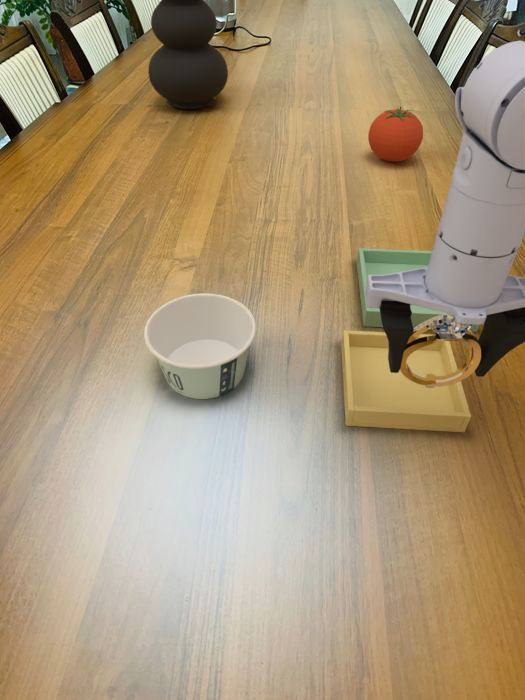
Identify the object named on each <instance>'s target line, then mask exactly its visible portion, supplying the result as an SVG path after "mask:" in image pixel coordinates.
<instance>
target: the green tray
mask: <svg viewBox="0 0 525 700" xmlns="http://www.w3.org/2000/svg"><path fill="white" fill-rule="evenodd" d="M431 254H432V250H416V249H414V250H412V249H391V248H390V249H389V248H388V249H387V248H368V247H367V248H366V247H364V248H363V247H361V248H360V247H359V248H358V251H357V259H356V271H357V279H358V288H359V289H358V290H359V297H360V299H359V300H360V308H361V315H362V325H363V327H367V328H383V325H382V321H381V314H380V308H367V305H366V297H365V290H366V285H367V279H368V275H384V274H392V273H397V272H403V271H408V270H414V269H419V268H425V267H428V265H429V262H430V258H431ZM410 308H411V311H412V315H411V320H412V325H413V329H414V328H415V327H416V326H418V325H419V324H421V323H423V322H425V321H427V320H429V319H431V318H433V317H436V316H439V315H444V313H443V312H439V311H435V310H431V309H427V308H423V307H419V306H415V305H410ZM448 315H450V316H453V317H454V315H451V314H448ZM440 325H441V324H440ZM462 325H464V326H467V324H462ZM480 327H481V324H480V325H476V324H472V326H471V327H470V330H471V331H472V332H473V333H477V332H479V329H480ZM429 330H430V331H433V330H432V328H431V329H429ZM429 330H428V331H429Z"/></svg>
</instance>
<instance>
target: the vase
mask: <svg viewBox="0 0 525 700" xmlns="http://www.w3.org/2000/svg"><path fill="white" fill-rule="evenodd" d="M150 18H151V19H150V26H151V30H152V32H153V34H154V36H155V37H156V39H157V40H158V41H159V42H160V44H162V45H161V47H159V48H158V49H157V50H155V52H154V53H153V54H152V56H151V58H150V60H149V63H148V78H149V81H150V84H151V86H152V87H153V89H154V91H155V92H156V93H157V95H160V96H161V97H162V98H164V99H165V100H167V101H166V102H167V104H168V105H169V106H170V107H173V108H175V109H181V110H199V109H203V108H207V107H209V106H211V105H212V104H214V102H215V98H216V97H217V96H218V95H220V94H221V93H222V91H223V90H224V89H225V87H226V84H227V81H228V77H229V76H228V75H229V71H228V69H229V68H228V64H227V62H226V59H225V57H224V56H223V54H222V53H221V52H220V51H219V50H218V49H217V48H216V47H214V46H212V45H211V44H210V42H211V41H212V39H213V38H214V36H215V34H216V31H217V28H218V27H217V26H218V23H217V16H216V14H215V12H214V11H213V9H212V8H211V6H210V5H209V4H208V3H207V2H206V1H205V0H160V1H159V2H158V4H157V6H156V7H155V8H154V10H153V11H152V14H151V17H150Z"/></svg>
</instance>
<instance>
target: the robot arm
mask: <svg viewBox="0 0 525 700" xmlns="http://www.w3.org/2000/svg"><path fill="white" fill-rule="evenodd" d="M454 109H455V115H456V118H457V119H458V122H459V123H460V126H461V128H462V137H461V141H460V145H459V148H458V150H459V151H458V155H457V158H456V162H455V165H454V168H453V172H452V176H451V180H450V183H449V188H448V192H447V194H446V198H445V203H444V206H443V209H442V214H441V217H440V221H439V225H438V228H437V231H436V236H435V240H434V244H433V248H432V250H431V251H432V254H431V258H430V262H429V265H428V267H425V268H419V269H414V270H408V271H403V272H397V273H392V274H384V275H368V279H367V285H366V290H365V297H366V305H367V308H380V314H381V321H382V325H383V327H382V328H383V332H385V333H386V336H387V338H388V342H389V352H388V361H389V367H390V372H391V373H398V372H399V370H400V368H401V363H402V358H403V353H404V350H405V347H406V345H407V342H408V340H409V338H410V336H411V335H412V333H413V332H414V329H413V325H412V320H411V315H412V311H411V308H410V305H415V306H419V307H423V308H427V309H431V310H435V311H439V312H443V313H447V314H451V315H454V316H455V318H456V320H457V322H459V323H461V324H476V325H480V326H481V325H483V327H482V330H481V332H480V334H479V336H478V338H477V340H478V342H479V344H480V348H481V360H480V363H479V365H478V367H477V368H476V370H475V371H474V373H475V377H478V378H479V377H480V378H484V377H485V376H486V375H487V374H488V372H490V370H491V369H492V368H493V367H495V365H496V364H497V363H498V362H499V361H500V360H501V359H502V358H503V357H504V356H506V355H507V354H509V353H510V352H511V351H513V350H514V349H516V348H517V347H518V346H520V345H522V344H524V343H525V277H521V276H518V275H513V274H510V271H511V269H512V266H513V264H514V261H515V259H516V256H517V254H518V251H519V249H520V246H521V245H522V242H523V239H524V237H525V41H524V40H515V41H510V42H508V43H505V44H502V45H500V46H499V47H497V48H495V49H493V50H492V51H490V52H489V53H488V54H486V55H485V56H484V57H483V58H482V59H481V60H480V61H479V63H478V65H476V67H474V68H473V70H472V71H471V73H470V74H469V76H468V78H467V79H466V82H465V84H464V86H460V87H457V89H456V91H455V95H454Z"/></svg>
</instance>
